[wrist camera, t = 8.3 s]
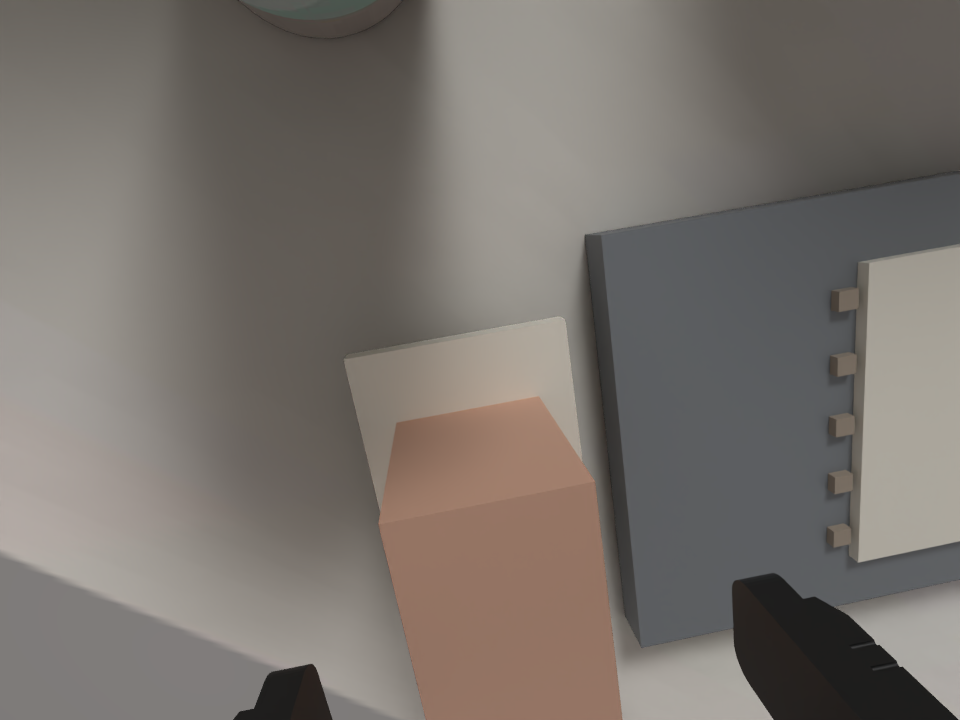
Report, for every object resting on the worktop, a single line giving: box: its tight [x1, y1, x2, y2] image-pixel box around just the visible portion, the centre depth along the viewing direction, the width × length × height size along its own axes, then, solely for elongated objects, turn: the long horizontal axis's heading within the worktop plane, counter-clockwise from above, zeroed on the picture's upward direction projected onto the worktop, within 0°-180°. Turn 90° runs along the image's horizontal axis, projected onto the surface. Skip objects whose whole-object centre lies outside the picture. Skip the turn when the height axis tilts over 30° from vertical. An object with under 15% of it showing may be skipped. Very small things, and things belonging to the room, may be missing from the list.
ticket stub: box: [344, 316, 622, 720], centre depth 13 cm, size 6×10×6 cm, turn 9°
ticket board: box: [585, 171, 960, 648], centre depth 17 cm, size 20×14×2 cm
